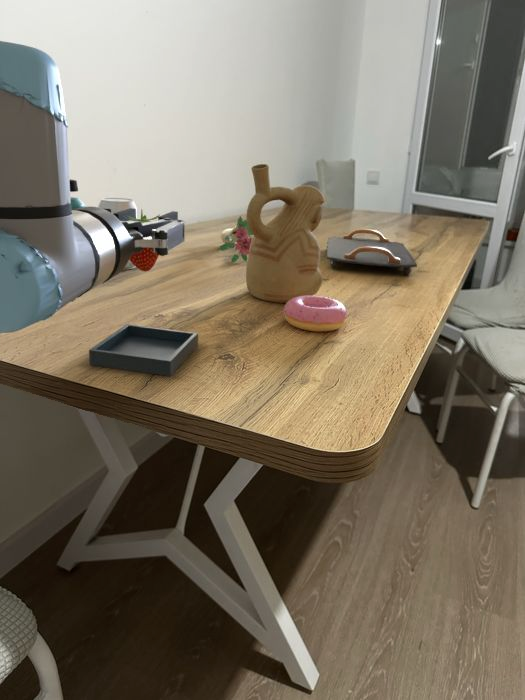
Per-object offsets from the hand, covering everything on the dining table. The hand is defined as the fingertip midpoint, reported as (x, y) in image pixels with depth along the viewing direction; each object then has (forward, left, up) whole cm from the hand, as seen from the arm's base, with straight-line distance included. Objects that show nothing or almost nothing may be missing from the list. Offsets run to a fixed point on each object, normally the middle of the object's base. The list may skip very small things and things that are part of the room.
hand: (154, 220), depth 71 cm
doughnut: (+22, +16, -18) cm, 33 cm away
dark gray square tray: (+1, -6, -18) cm, 19 cm away
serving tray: (+30, +79, -18) cm, 86 cm away
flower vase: (-4, +65, -18) cm, 68 cm away
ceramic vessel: (+13, +32, -18) cm, 39 cm away
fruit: (0, -5, -6) cm, 8 cm away
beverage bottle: (-28, +24, -18) cm, 41 cm away
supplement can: (-26, +41, -18) cm, 52 cm away
